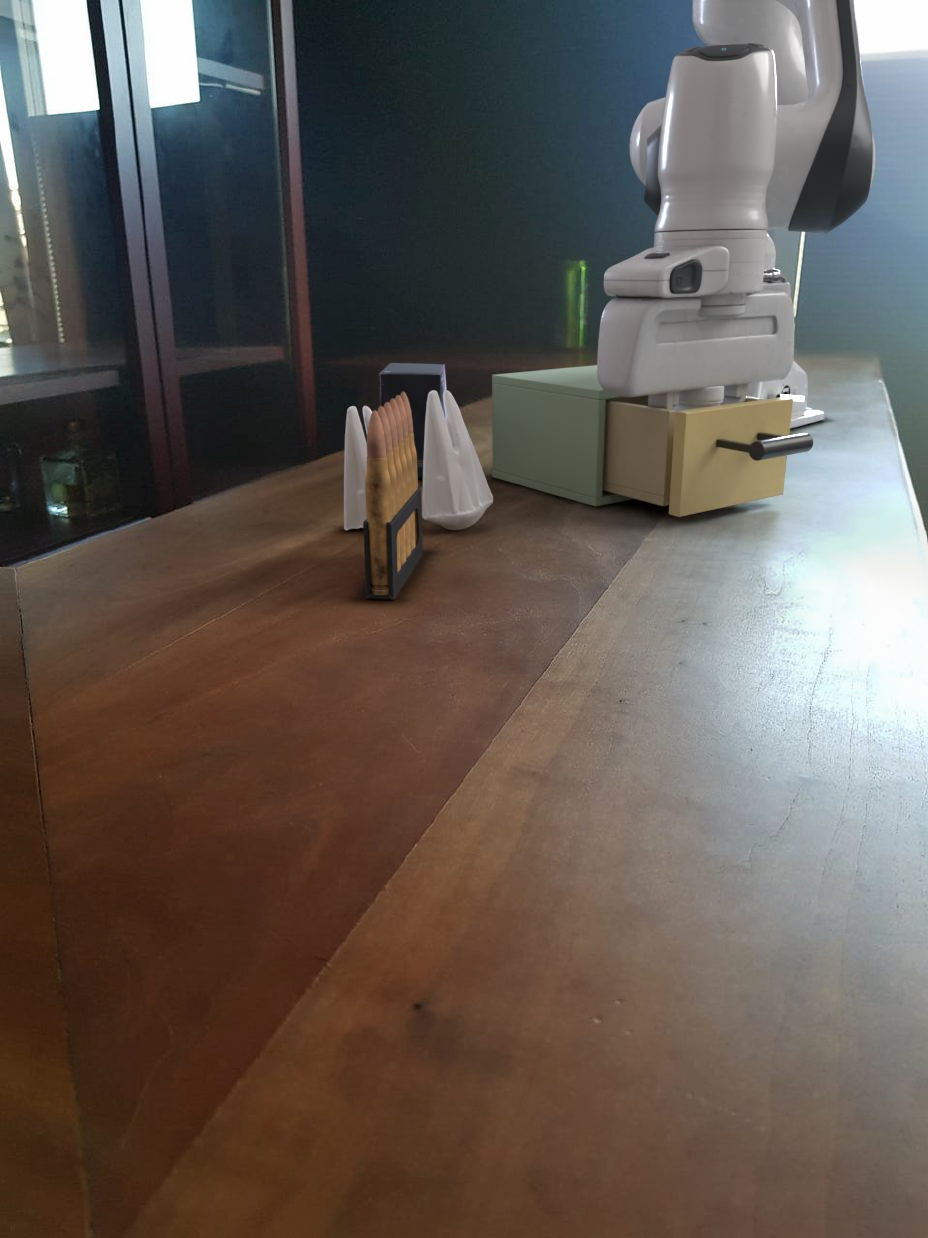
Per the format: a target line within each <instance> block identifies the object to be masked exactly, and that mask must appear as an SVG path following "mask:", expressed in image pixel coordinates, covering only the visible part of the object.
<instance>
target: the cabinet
mask: <svg viewBox="0 0 928 1238" xmlns="http://www.w3.org/2000/svg"><path fill="white" fill-rule="evenodd" d="M491 383H492V384H491V399H492V400H491V401H492V402H491V409H492V410H491V413H492V414H491V415H492V417H491V421H492V423H491V425H492V426H491V427H492V429H491V430H492V431H491V432H492V435H491V436H492V437H491V438H492V439H491V440H492V442H491V443H492V448H491V449H492V450H491V451H492V452H491V453H492V478H494V479H498V480H500V481H505V482H508V483H512V484H515V485H519V486H522V487H525V488H529V489H532V490H537V491H539V492H542V493H547V494H550V495H554V496H558V497H561V498H564V499H567V500H571V501H574V502H578V503H581V504H585V505H589V506H593V507H601V506H605V505H610V504H616V503H621V502H626V501H632V500H635V499H634V498H630V497H626V496H623V495H619V494H615V493H611V492H608V491H604V490H602V486H603V460H604V434H605V407H606V400H605V399H610V398H618V397H623V396H616V395H610V394H607V393H605V392H604V390H603V389H602V387H601V385H600V383H599V381H598V377H597V364H594V365H585V366H583V365H582V366H573V367H572V366H571V367H564V368H563V367H562V368H552V369H541V370H539V369H538V370H531V371H529V370H528V371H519V372H508V373H498V374H497V373H496V374H491Z"/></svg>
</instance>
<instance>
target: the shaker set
mask: <svg viewBox="0 0 928 1238" xmlns="http://www.w3.org/2000/svg"><path fill="white" fill-rule="evenodd" d="M443 401H444V408H445V415H446V419H445V416H444V412H443V409H442V406H441V402H440V399H439V396H438V393H437V391H435V390H433V391H430V392H429V394H428V398H427V405H426V417H425V437H424V460H423V478H422V494H421V509H422V520H425V521H426V522H431V523H433V524H436V525H439V526H440V527H442V528H444V529H446V530H450V531H460V530H466V529H468V528H469V527H471V526H473V525H475V524H476V523H477V522H478V521H480V519H481V518H482V517H483V515H484V514H485V512H486V511H487V509H488V508H489V507H490V506H491V505H492V504H493V503H494V496H493V493H492V491H491V488H490V487H489V484H488V481H487V478H486V476H485V473H484V470H483V467H482V464H481V462H480V459H479V456H478V454H477V451H476V448H475V446H474V444H473V441H472V439H471V435H470V434H469V431H468V429H467V426H466V424H465V421H464V418H463V416H462V413H461V410H460V407H459V405H458V403H457V401H456V400H455V397H454V396H453V394H452V393H451V391H449V390H447V389H446V390H445V391H444V392H443ZM372 411H373V410H371V408H370V407H369V406H367V405H363V407H362V416H363V422H364V426H365V431H366V433H367V431H368V425H369V420H370V416H371V414H372ZM343 463H344V464H343V466H344V467H343V530H344V531H349V530H353V529H356V530H359V529H360V528H361V529H363V522H364V521H365V520H366V519H367V518H366V496H365V477H366V470H367V439H366V436H365V432H364V429H363V425H362V422H361V418H360V415H359V412H358V409H357V407H356V406H355V405H352V406H349V407H348V408H347V410H346V419H345V433H344V462H343Z"/></svg>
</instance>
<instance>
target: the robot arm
mask: <svg viewBox="0 0 928 1238" xmlns="http://www.w3.org/2000/svg"><path fill="white" fill-rule="evenodd" d="M855 4H856V3H855V0H692V9H691V10H692V11H691V12H692V13H691V14H692V15H691V19H692V24H693V28H694V30H695V33H696V35H697V37H698V38H699V39H700V40H701V41H702V42H703V43H704V44H705V46H698V45H697V46H691V47H688V48H685V49H683V50H682V51H681V52H679V53H678V54H677V55H675V56H674V57H673V59H672V61H671V62H672V63H671V67H670V70H669V76H668V81H667V87H666V92H665V96H664V97H661V98H659V99H656V100H652V101H649V102H648V103H646V105H645V106H644V107H643V108H642V109H641V111H640V112H639V114H638V116H637V117H636V119H635V120H634V123H633V126H632V129H631V133H630V138H629V146H628V147H629V158H630V162H631V167H632V169H633V171H634V173H635V175H636V177H637V178H638V180H639V181H640V182H641V184H643V185H644V186H645V188H644V193H643V201H644V203H645V204H646V206H648V208H649V209H651V211H652V212H653V213H654V214H655V215H656V216H657V219H656V221H655V226H654V231H653V232H654V234H653V235H654V236H653V247H649V248H647V249H645V250H643V251H641V252H639V253H637V254H635V255H633V256H632V257H629V258H627V259H625V260H622V261H620V262H618V263H616V264H614V265H612V266H610V267H608V268H607V269H606V270H605V271H604V275H603V291H604V293H605V294H606V296H609V297H614V298H612V299H610V301H608V302H607V304H605V306H604V309H603V310H602V314H601V317H600V322H599V330H598V342H597V344H598V345H597V356H596V357H597V358H596V359H597V360H596V362H597V363H596V365H597V377H598V381H599V383H600V385H601V387H602V389H603V390H604V392H605V393H607V394H610V395H616V396H623V397H638V396H647V395H649V399H648V405H649V406H650V407H657V408H663V409H670V410H674V408H673V406H675V405H678V402H679V392H681V391H689V390H698V389H703V388H706V387H715V386H724V399H723V402H722V403H720V405H728V404H735V403H743V402H744V401H745V399H746V397H754V398H762V399H764V400H765V399H773V398H780V397H784V398H792V399H793V406H792V415H791V424H790V429H794V428H797V427H801V426H805V425H808V424H812V423H817V422H819V421H820V422H821V421H824V420H825V419H826V418H825V412H824V411H822V410H819V409H815V408H811V407H808V392H809V391H808V390H809V381H808V375H807V373H806V372H805V370H804V369H803V368H802V367H801V366H800V365H799V364H798V363H797V362H796V361H795V360H794V357H795V355H794V353H795V310H794V302H793V300H792V297H791V293H792V288H791V284H790V282H788V280H787V277H786V276H784V275H783V272H782V271H781V269H776V259H777V258H776V257H777V251H776V246H775V243H774V241H773V239H772V237H771V236H770V234H768V233H769V230H787V231H788V232H800V233H814V234H829V233H830V232H831V231H834V229H836V228H838V227H839V226H841V225H842V224H844V223H845V222H846V221H847V220H849V219H850V218H851V217H852V216H853V215H855V213H857V212H858V211H859V210H860V209H861V208H862V207H863V206H864V205H865V203H866V202H867V200H868V198H869V195H870V190H871V187H872V185H873V180H874V176H875V171H876V161H877V160H876V157H877V155H876V143H875V136H874V132H873V129H872V121H871V117H870V111H869V106H868V102H867V97H866V91H865V85H864V78H863V71H862V59H861V52H860V41H859V33H858V31H859V30H858V23H857V15H856V13H857V12H856V5H855Z"/></svg>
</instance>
